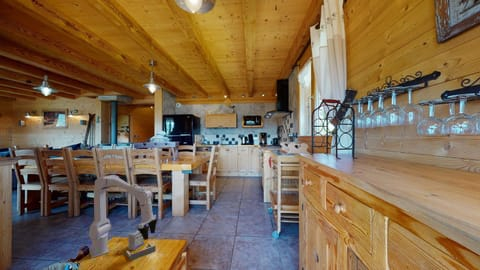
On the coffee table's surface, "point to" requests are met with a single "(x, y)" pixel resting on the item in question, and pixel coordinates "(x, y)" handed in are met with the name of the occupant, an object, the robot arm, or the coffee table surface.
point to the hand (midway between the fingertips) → (149, 236)
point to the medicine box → (135, 240)
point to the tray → (141, 252)
